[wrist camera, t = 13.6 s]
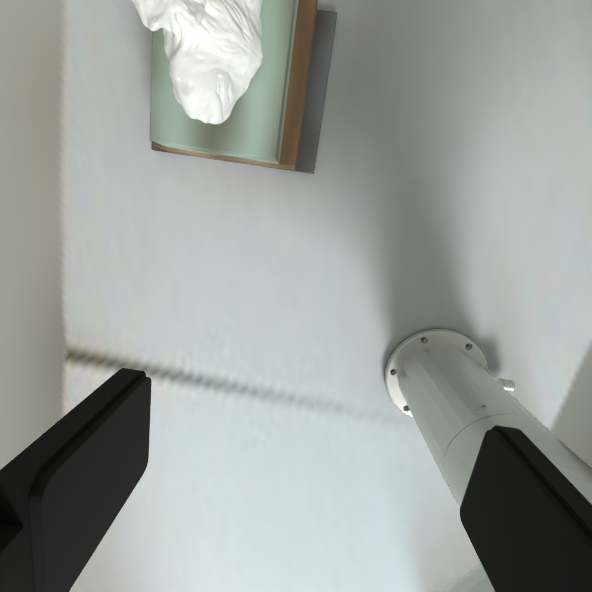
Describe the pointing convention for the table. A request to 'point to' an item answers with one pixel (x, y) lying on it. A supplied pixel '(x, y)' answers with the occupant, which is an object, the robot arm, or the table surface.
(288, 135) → the sage layered slab
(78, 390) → the table surface
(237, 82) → the bust
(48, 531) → the robot arm
